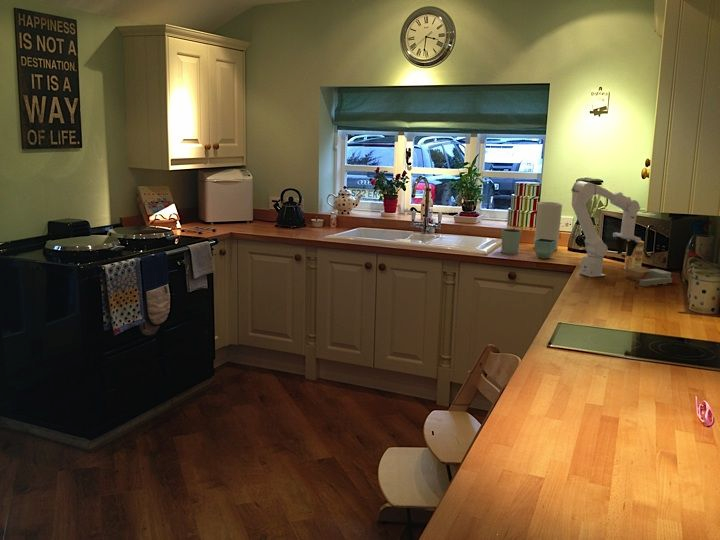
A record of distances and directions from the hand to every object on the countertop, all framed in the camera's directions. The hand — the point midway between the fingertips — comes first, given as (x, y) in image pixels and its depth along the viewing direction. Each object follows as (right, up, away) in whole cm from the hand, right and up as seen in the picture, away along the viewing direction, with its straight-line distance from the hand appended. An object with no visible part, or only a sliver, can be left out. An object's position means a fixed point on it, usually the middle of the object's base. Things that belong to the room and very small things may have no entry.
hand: (624, 254), depth 323 cm
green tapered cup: (-44, +2, +42) cm, 61 cm away
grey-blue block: (+13, -12, -6) cm, 19 cm away
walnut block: (+4, -11, -6) cm, 13 cm away
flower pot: (-28, -1, +34) cm, 44 cm away
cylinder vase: (-21, +4, +57) cm, 61 cm away
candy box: (+8, -8, +11) cm, 15 cm away
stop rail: (+8, -13, -15) cm, 21 cm away
